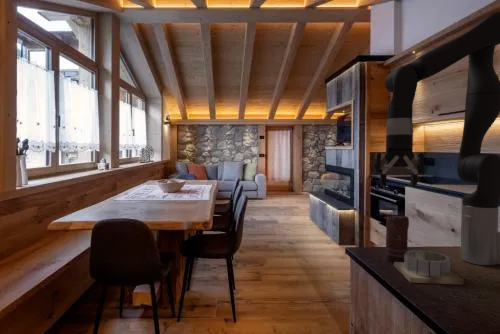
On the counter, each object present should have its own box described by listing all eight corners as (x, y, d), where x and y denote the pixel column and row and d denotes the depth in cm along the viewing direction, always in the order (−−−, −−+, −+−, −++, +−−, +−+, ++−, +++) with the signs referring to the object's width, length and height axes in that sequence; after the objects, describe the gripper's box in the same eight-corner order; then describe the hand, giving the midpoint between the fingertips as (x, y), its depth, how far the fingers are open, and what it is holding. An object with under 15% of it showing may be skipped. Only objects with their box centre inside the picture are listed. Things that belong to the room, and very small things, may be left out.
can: (410, 264, 102) (411, 218, 102) (387, 262, 104) (388, 217, 103) (405, 258, 108) (406, 214, 108) (384, 257, 110) (384, 213, 109)
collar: (438, 264, 98) (438, 250, 98) (457, 278, 88) (457, 262, 88) (399, 263, 100) (399, 249, 99) (413, 276, 89) (413, 261, 89)
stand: (440, 267, 100) (440, 263, 99) (463, 284, 87) (463, 279, 87) (394, 265, 101) (394, 261, 101) (410, 282, 88) (410, 277, 88)
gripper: (418, 134, 108) (417, 185, 108) (372, 134, 109) (371, 185, 110) (428, 133, 100) (427, 188, 101) (378, 133, 102) (377, 187, 102)
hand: (398, 186), depth 105 cm, fingers open, 8 cm apart
